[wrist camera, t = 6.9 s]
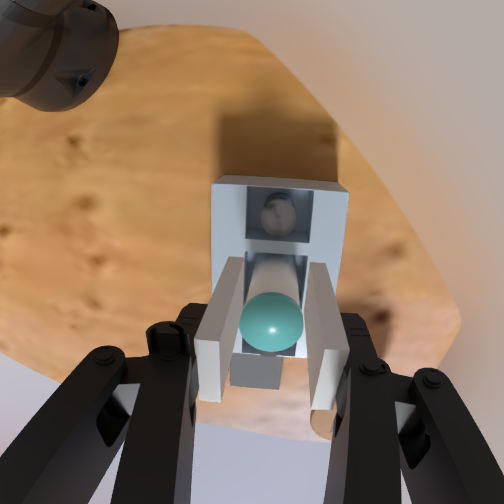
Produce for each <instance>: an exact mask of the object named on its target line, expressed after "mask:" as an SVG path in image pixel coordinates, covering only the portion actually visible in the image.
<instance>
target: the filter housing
mask: <svg viewBox="0 0 504 504" xmlns="http://www.w3.org/2000/svg"><path fill="white" fill-rule="evenodd" d="M276 192H283V193H286V194H288V195H289V196H290V197H291V198H292V199H293V201H294V204H295V210H296V216H297V223H296V226H295V228H294V229H293V231H292V232H291V233H289V234H288V235H285V236H281V237H277V236H272V235H270V234H269V233H267V232H266V231H265V230H264V228H263V227H262V224H261V214H262V210H263V207H264V203H265V200H266V199H267V197H268V196H269V195H271V194H273V193H276ZM348 200H349V192H348V191H347V190H346V189H345V188H344V187H342V186H341V185H340V184H339V183H338V182H329V181H318V180H306V179H292V178H278V177H261V176H240V175H223V176H221V177H220V178H219V179H217V180H216V181H215V182H213V183H212V193H211V256H212V294H213V292H214V290H215V287H216V285H217V282H218V280H219V278H220V275H221V273H222V271H223V268H224V266H225V264H226V261H227V259H228V257H229V256H232V257H245V259H244V291H243V307H244V305H245V304H246V300H247V296H248V291H249V287H250V282H251V277H252V273H253V268H254V264H255V260H256V258H257V256H258V255H259V254H260V253H276V254H290V255H292V256H293V257H294V259H295V262H296V268H297V280H298V292H299V305H300V308H301V311H302V314H303V324H304V327H303V333H302V335H301V337H300V339H299V340H298V341H297V342H296V343H295V344H294V345H292V346H291V347H289V348H287V349H285V350H283V351H282V352H281V353H280V354H279V355H277V356H282V357H299V358H307V345H306V333H305V322H304V305H305V297H306V289H307V281H308V273H309V265H310V262H318V263H326V266H327V269H328V273H329V276H330V279H331V283H332V286H333V290H334V293H336V287H337V281H338V275H339V268H340V262H341V255H342V248H343V241H344V233H345V225H346V217H347V209H348ZM233 353H243V354H255V355H260V354H259V353H258V352H257V351H256V350H255V348H254V347H253V346H251V345H250V344H248V343H247V342H246V341H245V340H244V338H243V337H242V335H241V333H240V329H239V327H238V331H237V336H236V340H235V344H234V349H233Z"/></svg>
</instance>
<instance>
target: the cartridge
mask: <svg viewBox="0 0 504 504" xmlns="http://www.w3.org/2000/svg"><path fill="white" fill-rule="evenodd" d="M303 327H304V324H303V314H302V311H301V308H300V305H299V292H298V280H297V268H296V262H295V259H294V257H293V256H292V255H290V254H276V253H260V254H259V255H258V256H257V258H256V260H255V264H254V268H253V273H252V277H251V282H250V287H249V291H248V296H247V300H246V304H245V305H244V307H243V309H242V314H241V318H240V323H239V329H240V333H241V335H242V337H243V338H244V340H245V341H246V342H247V343H248V344H250V345H251V346H253V347H254V348H256V349H259V350H262V351H268V352H276V351H282V350H285V349H287V348H289V347H291V346H292V345H294V344H295V343H296V342H297V341H298V340H299V339H300V337H301V335H302V333H303Z"/></svg>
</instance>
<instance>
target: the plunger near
mask: <svg viewBox="0 0 504 504" xmlns="http://www.w3.org/2000/svg"><path fill="white" fill-rule="evenodd" d="M296 223H297V216H296V210H295V204H294V201H293V199H292V198H291V197H290V196H289V195H288V194H286V193H283V192H276V193H273V194H271V195H269V196H268V197H267V199H266V200H265V203H264V207H263V210H262V214H261V224H262V227H263V228H264V230H265V231H266V232H267V233H269V234H270V235H272V236H277V237H281V236H285V235H288V234H289V233H291V232H292V231H293V229H294V228H295V226H296Z"/></svg>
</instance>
